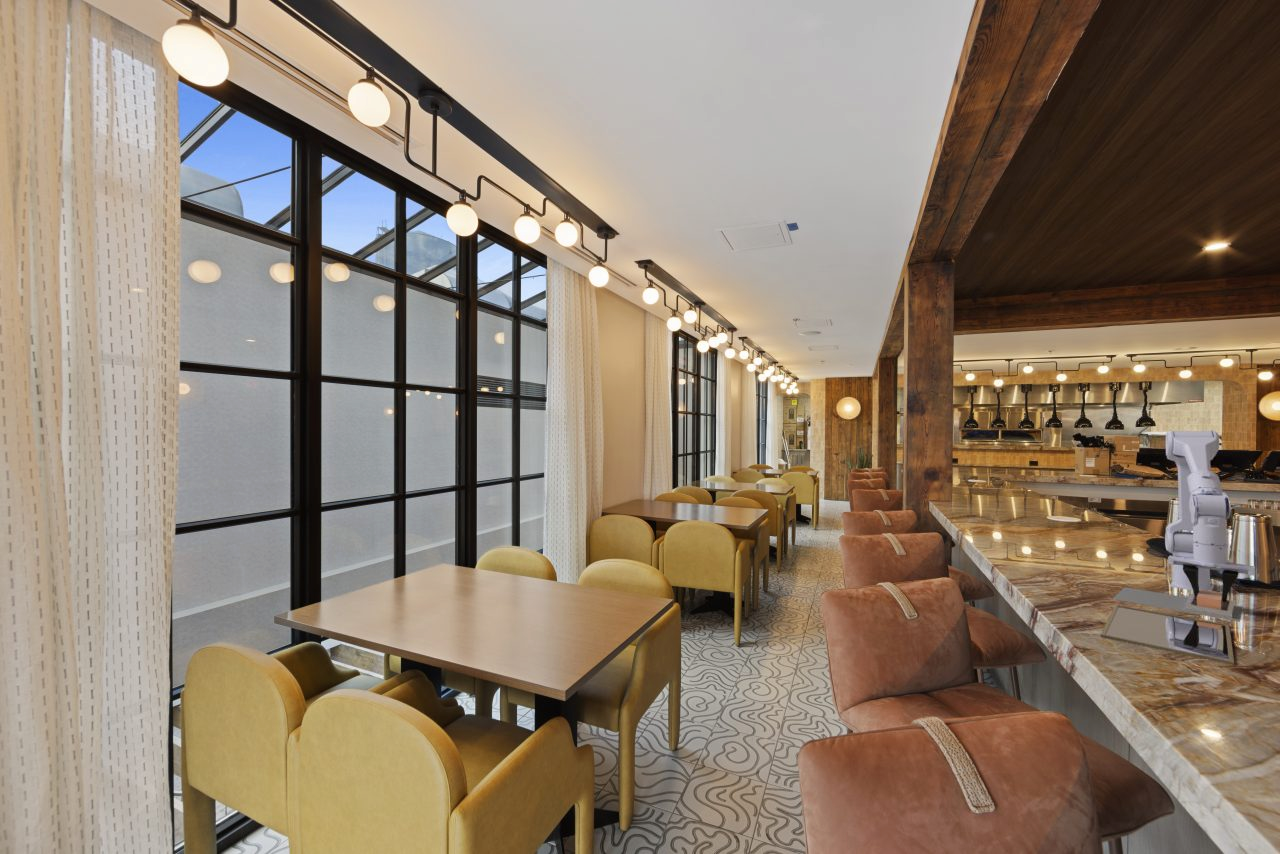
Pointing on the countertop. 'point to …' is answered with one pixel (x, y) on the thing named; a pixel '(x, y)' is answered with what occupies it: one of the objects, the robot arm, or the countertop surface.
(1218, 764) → the countertop surface
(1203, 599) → the tall peach block
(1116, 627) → the framed mirror
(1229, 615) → the tray frame
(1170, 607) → the mat
